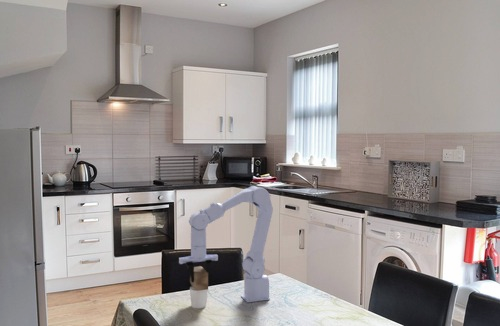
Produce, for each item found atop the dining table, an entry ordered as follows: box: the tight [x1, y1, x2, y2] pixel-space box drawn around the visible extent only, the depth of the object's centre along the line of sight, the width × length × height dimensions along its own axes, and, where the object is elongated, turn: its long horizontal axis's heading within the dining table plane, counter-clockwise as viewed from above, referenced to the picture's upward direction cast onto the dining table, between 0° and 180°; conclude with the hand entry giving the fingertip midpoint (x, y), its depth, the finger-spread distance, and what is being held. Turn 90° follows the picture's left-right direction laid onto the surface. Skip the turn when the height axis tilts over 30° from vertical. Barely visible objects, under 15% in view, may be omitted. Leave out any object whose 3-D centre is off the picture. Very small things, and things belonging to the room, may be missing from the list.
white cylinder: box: [189, 285, 209, 309], centre depth 169 cm, size 7×7×7 cm
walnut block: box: [189, 265, 209, 291], centre depth 168 cm, size 4×10×6 cm, turn 20°
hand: (198, 280), depth 168 cm, fingers closed on walnut block, 4 cm apart
